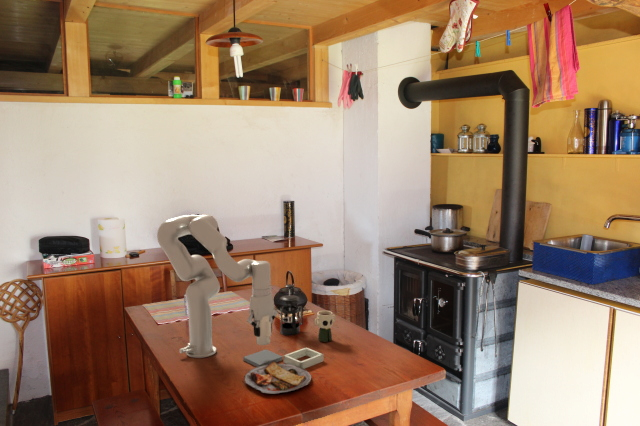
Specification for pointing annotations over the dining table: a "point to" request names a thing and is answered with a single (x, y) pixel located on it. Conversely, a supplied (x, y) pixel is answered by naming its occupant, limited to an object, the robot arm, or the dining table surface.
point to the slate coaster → (262, 358)
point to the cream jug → (264, 331)
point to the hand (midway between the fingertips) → (263, 333)
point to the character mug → (325, 325)
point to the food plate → (277, 377)
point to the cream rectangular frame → (292, 357)
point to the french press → (290, 321)
